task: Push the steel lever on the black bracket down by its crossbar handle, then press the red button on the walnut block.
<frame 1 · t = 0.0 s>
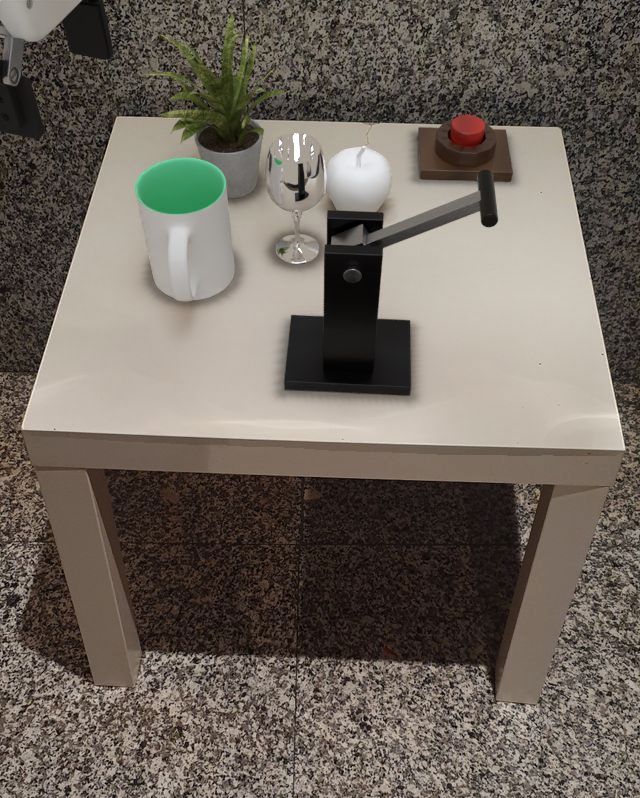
hand: (58, 92, 56), 26 cm above the table, tool pointing down, fingers open, 9 cm apart
bracket: (348, 358, 76), on the table
button: (467, 131, 91), point 3 cm above the table, slide at 0.1 cm
mug: (194, 286, 82), on the table
wineglass: (297, 250, 85), on the table
plain white apple: (357, 209, 89), on the table
lever: (413, 226, 63), point 16 cm above the table, hinge at 30.0°
button block: (462, 158, 94), on the table
house plant: (228, 177, 92), on the table
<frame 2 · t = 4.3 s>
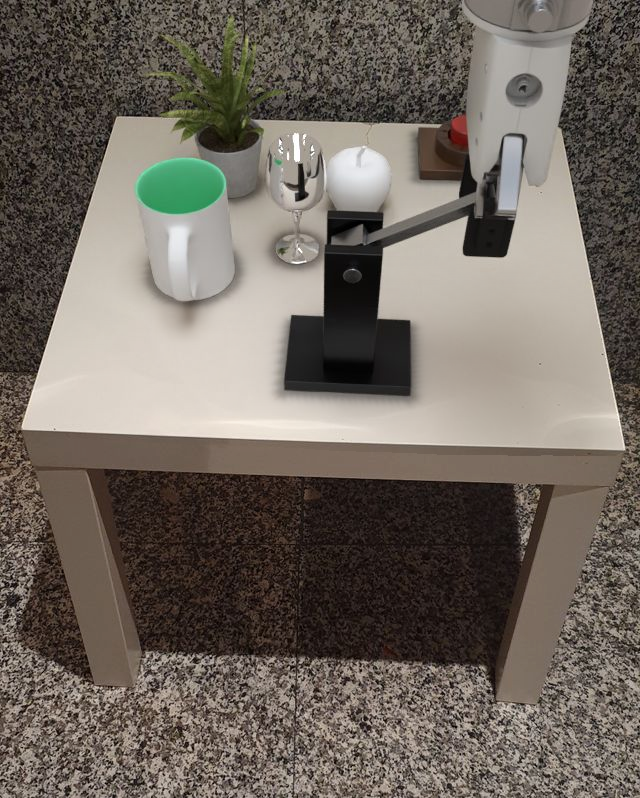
hand: (481, 225, 63), 16 cm above the table, tool pointing down, fingers closed on lever, 5 cm apart
lever: (413, 226, 63), point 16 cm above the table, hinge at 30.0°, touching gripper
everything else where it was.
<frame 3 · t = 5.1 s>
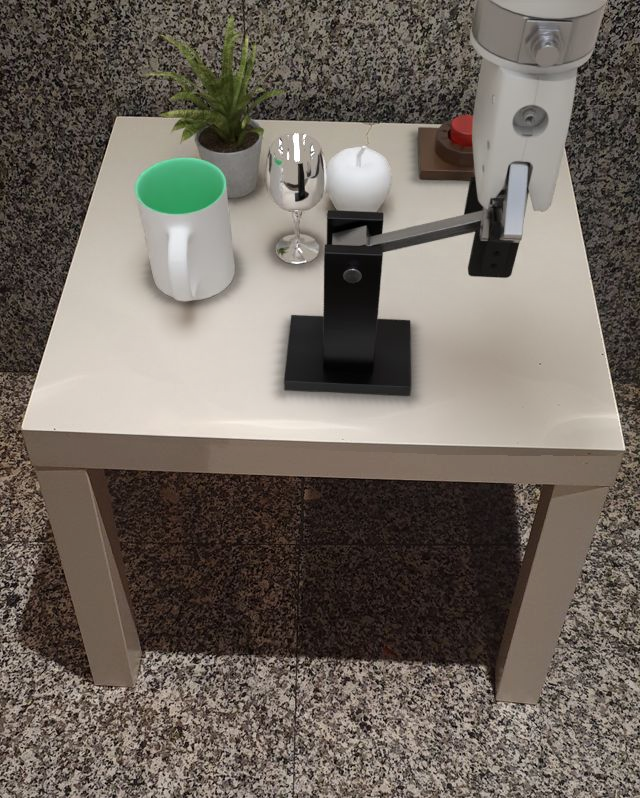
hand: (486, 245, 64), 14 cm above the table, tool pointing down, fingers closed on lever, 5 cm apart
lever: (417, 235, 64), point 15 cm above the table, hinge at 19.8°, touching gripper
everything else where it was.
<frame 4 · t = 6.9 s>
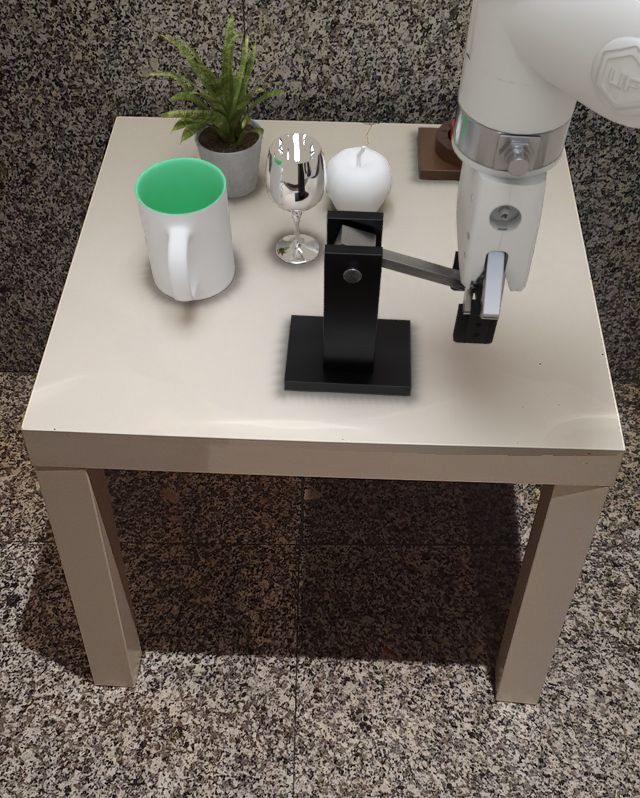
hand: (470, 312, 70), 7 cm above the table, tool pointing down, fingers closed on lever, 5 cm apart
lever: (414, 266, 67), point 11 cm above the table, hinge at -17.6°, touching gripper
everything else where it was.
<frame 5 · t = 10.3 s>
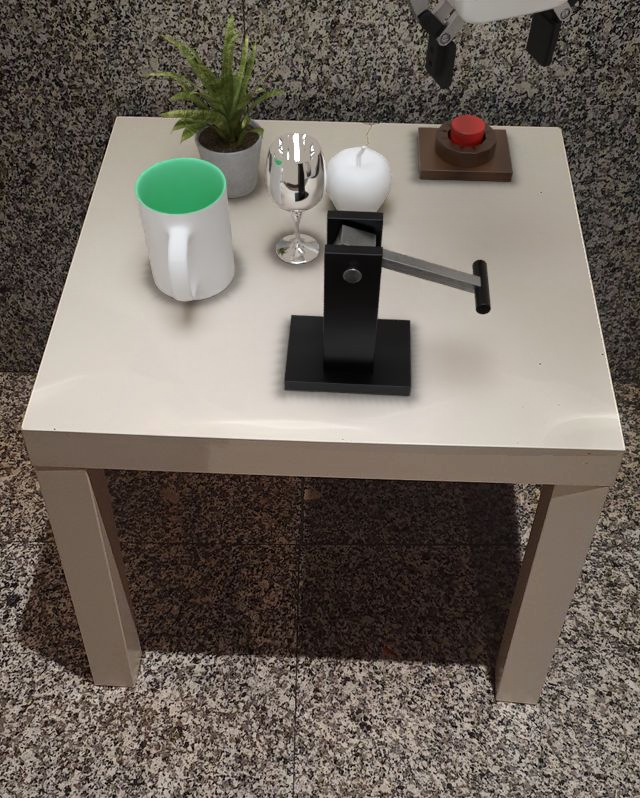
hand: (488, 69, 72), 18 cm above the table, tool pointing down, fingers open, 9 cm apart
lever: (414, 267, 67), point 11 cm above the table, hinge at -17.8°
everything else where it was.
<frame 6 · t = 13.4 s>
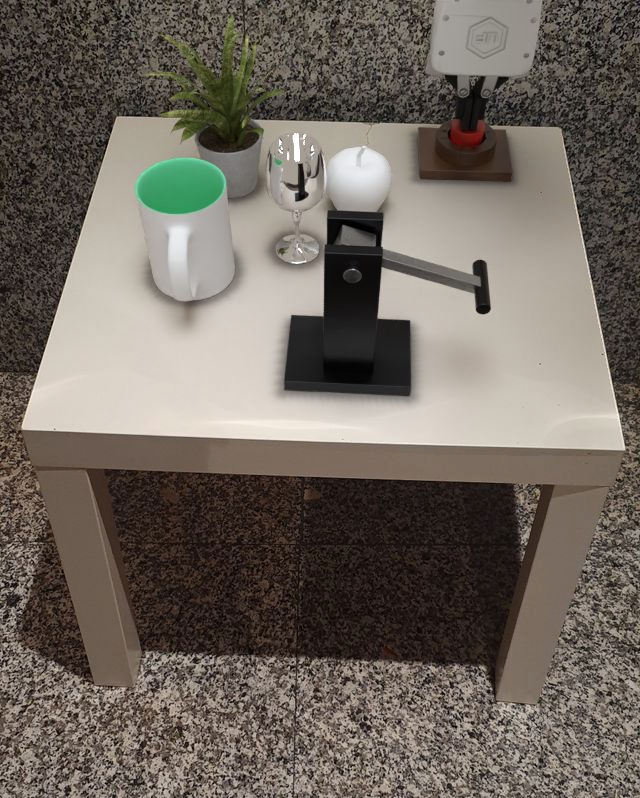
hand: (467, 123, 91), 4 cm above the table, tool pointing down, fingers closed
button: (467, 131, 91), point 3 cm above the table, slide at 0.1 cm, touching gripper
everything else where it was.
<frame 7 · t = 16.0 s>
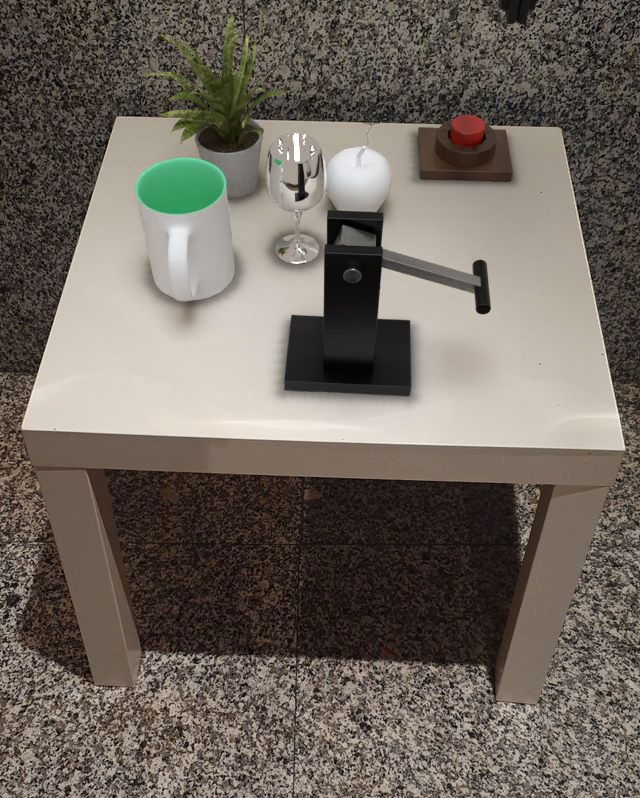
hand: (514, 16, 74), 20 cm above the table, tool pointing down, fingers closed
button: (467, 131, 91), point 3 cm above the table, slide at 0.1 cm
everything else where it was.
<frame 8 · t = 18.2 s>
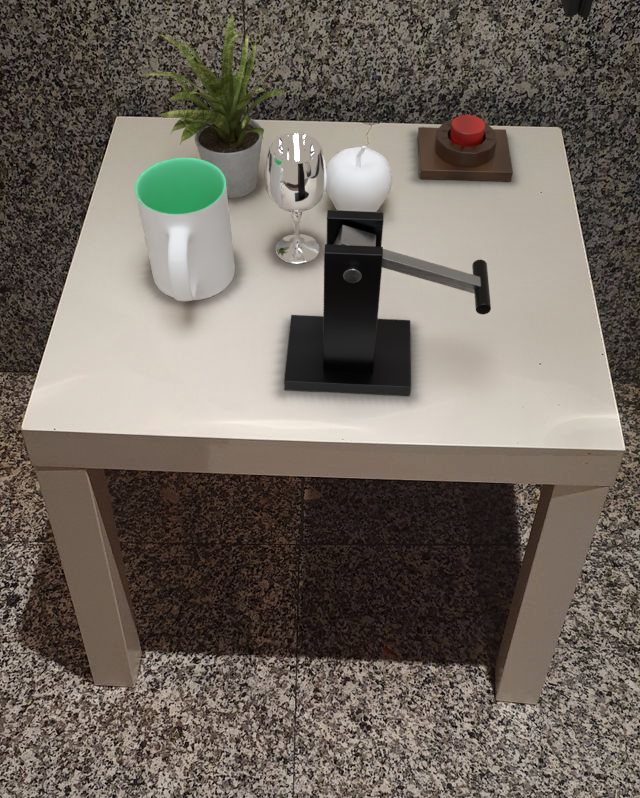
hand: (574, 7, 61), 27 cm above the table, tool pointing down, fingers closed
nothing on the table moved.
at the end: lever at -18° (first picture: +30°); button pushed in 1.1 cm at the most during the clip, back to where it started at the end; button slide at 0.1 cm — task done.
